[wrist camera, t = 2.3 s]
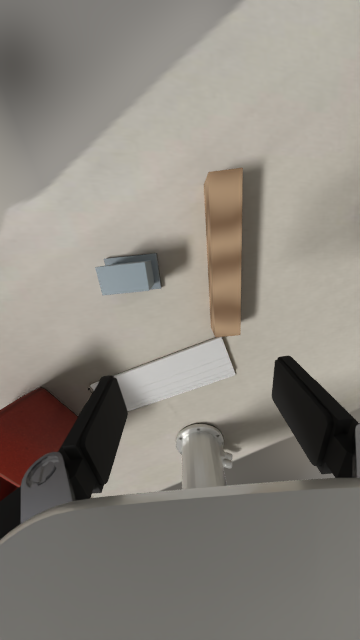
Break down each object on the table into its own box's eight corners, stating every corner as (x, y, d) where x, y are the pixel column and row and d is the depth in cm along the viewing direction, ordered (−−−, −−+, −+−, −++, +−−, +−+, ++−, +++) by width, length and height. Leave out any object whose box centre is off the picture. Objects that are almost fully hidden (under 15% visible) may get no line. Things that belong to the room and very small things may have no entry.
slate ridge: (161, 287, 33) (156, 296, 27) (113, 292, 34) (97, 302, 27) (156, 253, 31) (150, 253, 25) (105, 258, 31) (86, 260, 25)
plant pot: (40, 368, 40) (-51, 446, 24) (100, 420, 45) (59, 511, 30) (-13, 406, 43) (-122, 494, 28) (48, 449, 49) (-13, 543, 33)
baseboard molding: (236, 377, 41) (219, 333, 38) (240, 385, 39) (223, 340, 35) (118, 416, 46) (92, 381, 42) (114, 427, 43) (86, 390, 39)
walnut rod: (232, 324, 36) (240, 334, 32) (210, 326, 36) (215, 337, 32) (231, 181, 28) (242, 167, 23) (203, 185, 28) (208, 172, 23)
